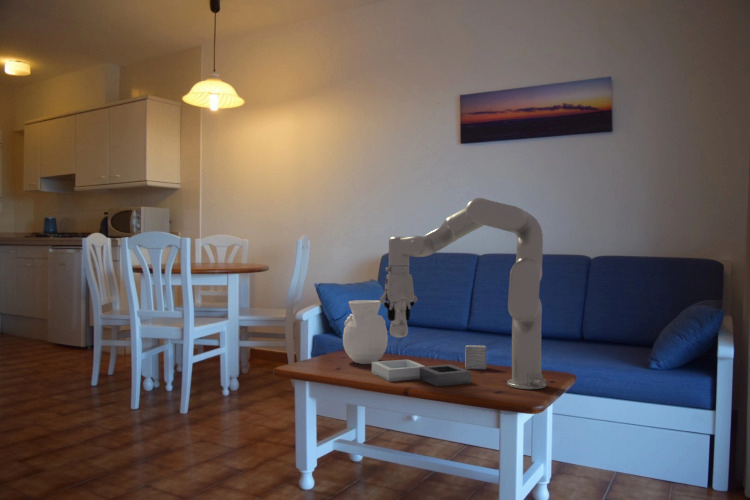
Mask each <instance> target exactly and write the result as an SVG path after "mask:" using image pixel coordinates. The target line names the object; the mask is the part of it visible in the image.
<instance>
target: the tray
mask: <svg viewBox="0 0 750 500" xmlns="http://www.w3.org/2000/svg"><path fill="white" fill-rule="evenodd" d="M424 366H425V367H426V365H423V364H421V363H418V362H417V361H415V360H414V361H413V360H410V359H396V360H395V359H394V360H382V361H381V360H379V361H378V362H372V364H371V374H373V375H374V376H377V375H378V376H377V377H379V378H380V379H383V380H385V381H386V382H400V381H407V380H408V381H409V380H410V381H411V380H421V379H420V367H424Z"/></svg>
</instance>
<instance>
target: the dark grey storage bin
mask: <svg viewBox="0 0 750 500" xmlns="http://www.w3.org/2000/svg"><path fill="white" fill-rule="evenodd" d="M425 366H426V365H424V367H420V379H419V380H422V381H424V382H426V383H429V384H430V385H433V386H435V387H444V386H445V387H446V386H456V385H465V384H466V385H468V384H472V381H471V380H472V371H470V370H469V369H466V368H465V369H464V368H463V367H459V366H457V365H453V364H451V363H450V364H440V365H428V366H426V367H425Z"/></svg>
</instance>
